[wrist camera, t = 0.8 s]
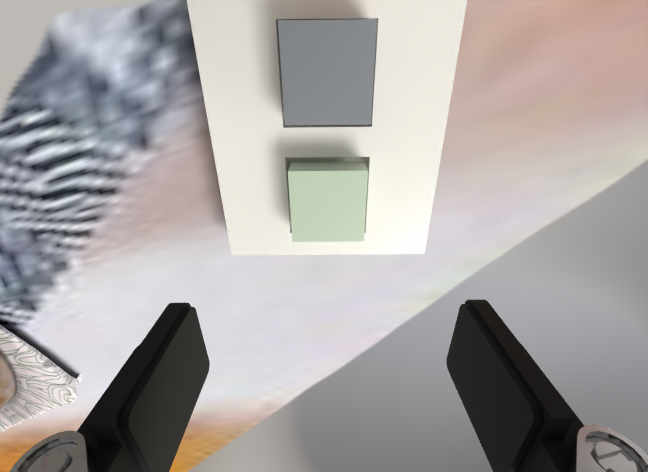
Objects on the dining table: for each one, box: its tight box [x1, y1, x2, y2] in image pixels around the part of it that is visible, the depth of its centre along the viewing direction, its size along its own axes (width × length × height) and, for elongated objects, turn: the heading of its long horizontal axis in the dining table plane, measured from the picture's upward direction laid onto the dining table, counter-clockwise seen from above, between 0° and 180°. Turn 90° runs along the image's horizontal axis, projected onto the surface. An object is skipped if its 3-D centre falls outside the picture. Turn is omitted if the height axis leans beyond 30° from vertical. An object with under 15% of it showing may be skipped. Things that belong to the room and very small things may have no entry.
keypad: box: [187, 0, 467, 255], centre depth 20 cm, size 16×26×3 cm, turn 1°
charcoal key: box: [278, 19, 377, 125], centre depth 18 cm, size 5×5×2 cm
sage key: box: [288, 162, 368, 242], centre depth 21 cm, size 5×5×2 cm
